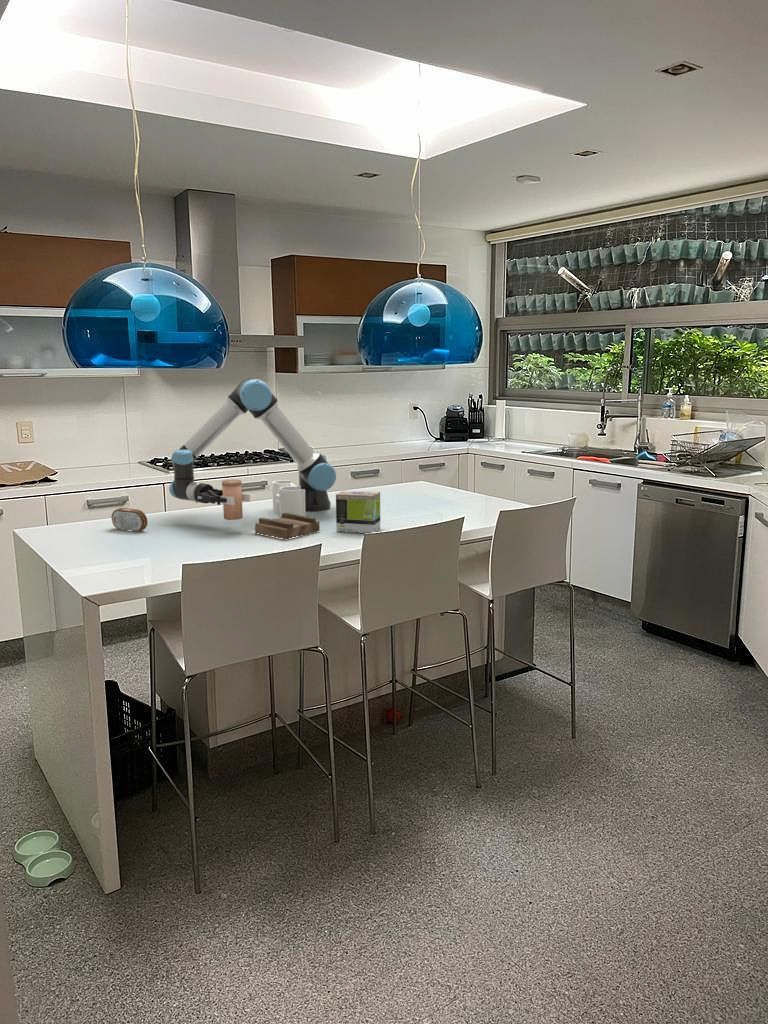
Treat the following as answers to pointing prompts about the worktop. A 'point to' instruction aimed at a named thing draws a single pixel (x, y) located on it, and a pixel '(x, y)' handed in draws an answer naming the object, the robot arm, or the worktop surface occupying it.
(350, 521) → the tea box
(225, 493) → the terracotta canister
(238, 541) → the worktop surface
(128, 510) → the tin
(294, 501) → the bracket
